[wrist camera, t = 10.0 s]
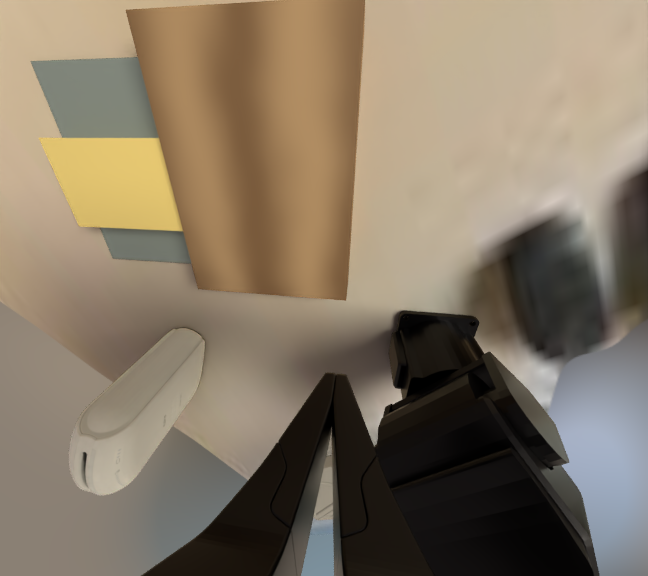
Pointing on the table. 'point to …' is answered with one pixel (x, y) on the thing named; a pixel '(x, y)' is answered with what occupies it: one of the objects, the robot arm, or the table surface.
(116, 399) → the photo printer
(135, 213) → the pale yellow foam brick
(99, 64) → the mat
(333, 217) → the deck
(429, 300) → the table surface
